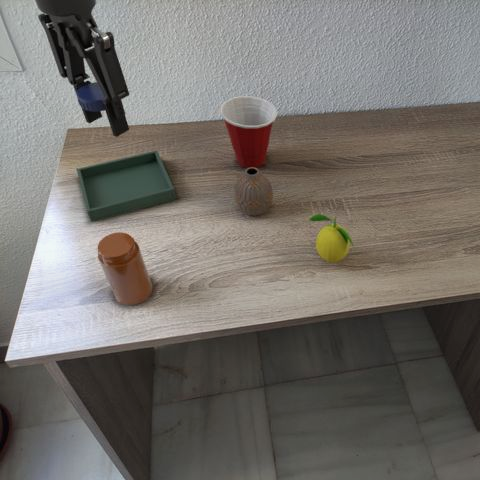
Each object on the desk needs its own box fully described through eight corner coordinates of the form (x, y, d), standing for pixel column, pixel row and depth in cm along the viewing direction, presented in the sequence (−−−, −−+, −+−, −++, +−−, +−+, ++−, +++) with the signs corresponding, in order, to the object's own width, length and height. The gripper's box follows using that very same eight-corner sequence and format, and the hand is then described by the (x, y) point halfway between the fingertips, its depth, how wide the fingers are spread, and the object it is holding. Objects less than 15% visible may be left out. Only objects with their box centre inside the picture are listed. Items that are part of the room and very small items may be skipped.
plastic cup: (276, 177, 94) (274, 126, 85) (222, 175, 94) (215, 123, 85) (280, 146, 101) (279, 95, 93) (230, 143, 101) (224, 92, 92)
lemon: (307, 248, 81) (309, 205, 74) (339, 241, 82) (344, 198, 75) (320, 277, 77) (323, 234, 69) (353, 269, 78) (360, 226, 71)
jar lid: (123, 91, 79) (120, 81, 77) (116, 111, 75) (113, 100, 73) (84, 92, 78) (80, 81, 77) (75, 112, 74) (71, 101, 72)
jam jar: (119, 310, 70) (98, 264, 63) (111, 284, 74) (90, 237, 66) (156, 297, 72) (140, 251, 65) (147, 272, 76) (131, 225, 68)
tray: (91, 222, 83) (86, 211, 81) (80, 179, 91) (76, 168, 89) (176, 199, 88) (174, 188, 86) (159, 160, 96) (156, 150, 94)
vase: (249, 226, 84) (245, 189, 78) (229, 205, 88) (224, 168, 81) (280, 211, 87) (279, 173, 81) (260, 191, 91) (257, 154, 84)
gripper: (129, -15, 62) (164, 134, 78) (39, -45, 68) (89, 99, 85) (81, 2, 57) (129, 156, 74) (-11, -32, 64) (52, 117, 81)
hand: (107, 125), depth 80 cm, fingers closed on jar lid, 6 cm apart
